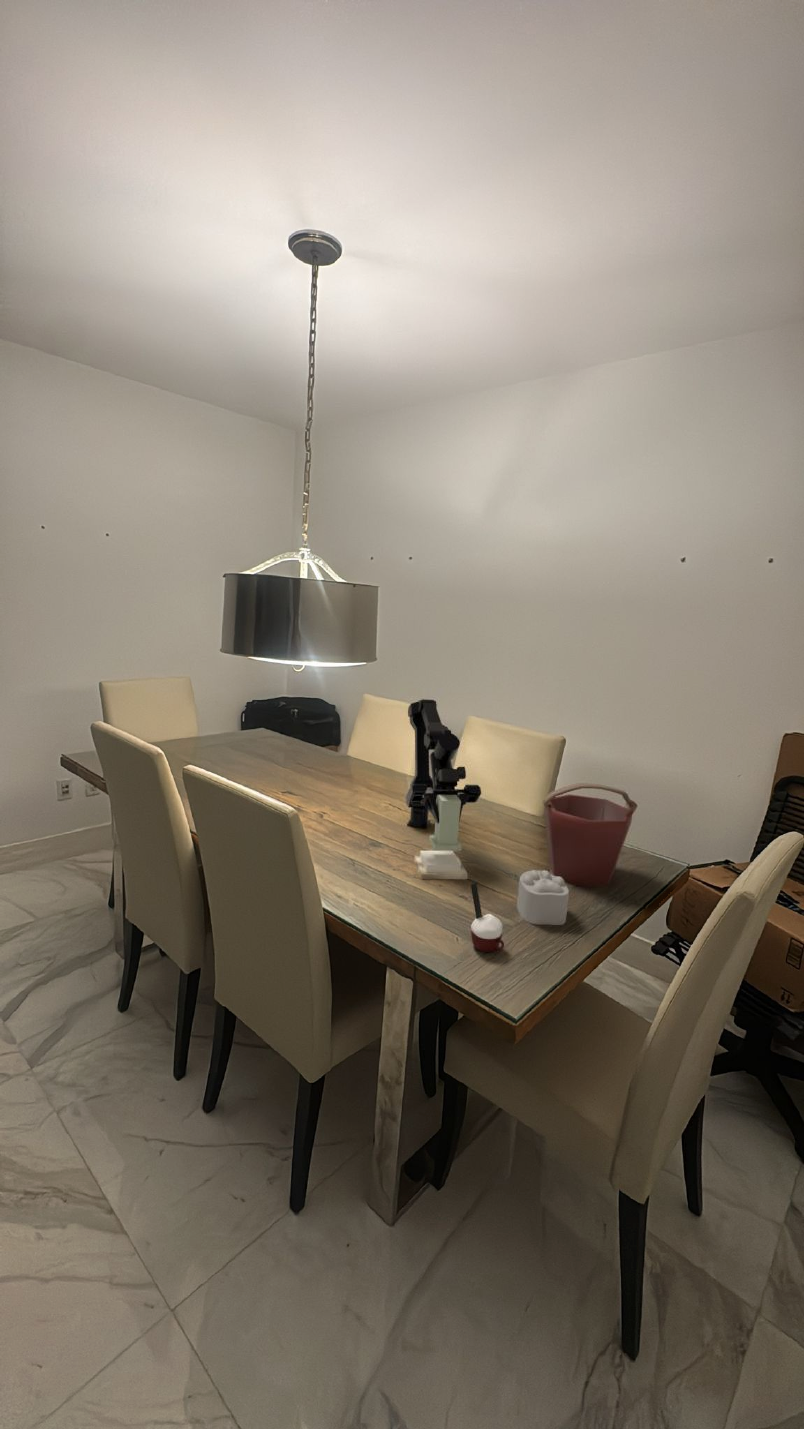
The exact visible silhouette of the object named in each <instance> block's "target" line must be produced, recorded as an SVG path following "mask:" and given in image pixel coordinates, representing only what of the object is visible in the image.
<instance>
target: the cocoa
mask: <svg viewBox="0 0 804 1429" xmlns="http://www.w3.org/2000/svg"><path fill="white" fill-rule="evenodd" d="M470 889H471V893H472V894H471V895H472V900H473V906H474V911H475V919H474V920H473V921H472V923H471V926H470V930H471V931H470V936H471V941H472V944H473V946H474V948H476V949H477V950H478V951H480V952H484V953H492V952H500V951H501V950H503V949H504V948H505V941H503V940H502V937H503V923H502V921H500V919H499V918H498V917H496V916H494V915H493V914H491V913H487V914H485V915H483V913H482V908H481V902H480V896H479V890H478V884H477V882H476V881H475V882H472V883H471V884H470ZM500 945H501V946H500ZM499 946H500V947H499Z"/></svg>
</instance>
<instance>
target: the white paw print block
mask: <svg viewBox="0 0 804 1429" xmlns="http://www.w3.org/2000/svg"><path fill="white" fill-rule="evenodd" d="M565 882H566V881H564V880H563V878H562V877H559V876H558V877H557V876H554V875H553V873H552V874H551V873H550V872H549V871H548V870H536V869H532V870H528V871H524V872H523V873H522V874H521V875H520V877H519V882H518V890H517V898H516V899H517V900H516V909H517V911H518V913H519V914H520V916H521V917H522V919H523V920H524V921H526V922H528V923H530V924H531V925H532V924H533V925H552V926H553V925H554V926H562V925H564V924H565V923H566V920H567V914H568V913H567V911H568V905H569V897H570V896H569V895H570V890H569V888H568V886H567V885H566V883H565Z"/></svg>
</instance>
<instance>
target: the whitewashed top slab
mask: <svg viewBox="0 0 804 1429" xmlns="http://www.w3.org/2000/svg"><path fill="white" fill-rule="evenodd" d="M419 855H420V859H421V862H422V864H423V866H424V868H425V870H426V872H460V870H461V864H460V862H459V861H458V859H457V857H456V856H455V855H456V854H455V853H454V850H420V851H419Z"/></svg>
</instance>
